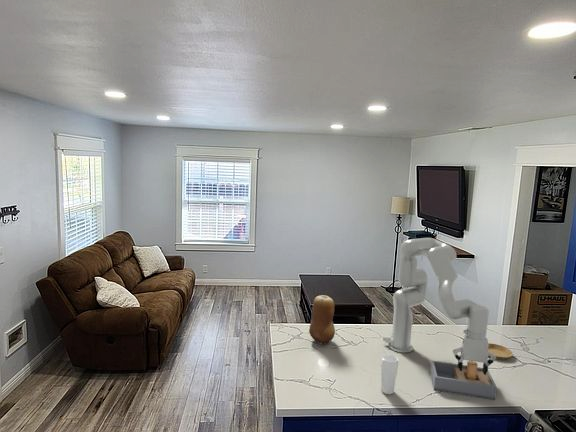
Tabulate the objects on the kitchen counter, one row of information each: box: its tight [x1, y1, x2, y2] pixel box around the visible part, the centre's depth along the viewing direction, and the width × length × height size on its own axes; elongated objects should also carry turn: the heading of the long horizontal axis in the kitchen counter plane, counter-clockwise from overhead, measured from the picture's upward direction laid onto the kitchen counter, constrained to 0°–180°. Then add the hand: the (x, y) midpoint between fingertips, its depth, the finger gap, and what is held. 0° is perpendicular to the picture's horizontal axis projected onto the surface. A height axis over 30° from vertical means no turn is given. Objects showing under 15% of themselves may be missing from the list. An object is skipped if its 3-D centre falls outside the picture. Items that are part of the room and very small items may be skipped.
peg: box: [466, 360, 478, 380], centre depth 173 cm, size 4×4×10 cm
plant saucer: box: [488, 342, 513, 360], centre depth 205 cm, size 15×15×3 cm
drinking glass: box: [380, 353, 399, 395], centre depth 167 cm, size 7×7×15 cm
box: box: [429, 360, 497, 401], centre depth 174 cm, size 24×15×6 cm, turn 76°
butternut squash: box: [308, 294, 336, 345], centre depth 209 cm, size 14×13×25 cm
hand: (472, 371), depth 173 cm, fingers open, 9 cm apart
